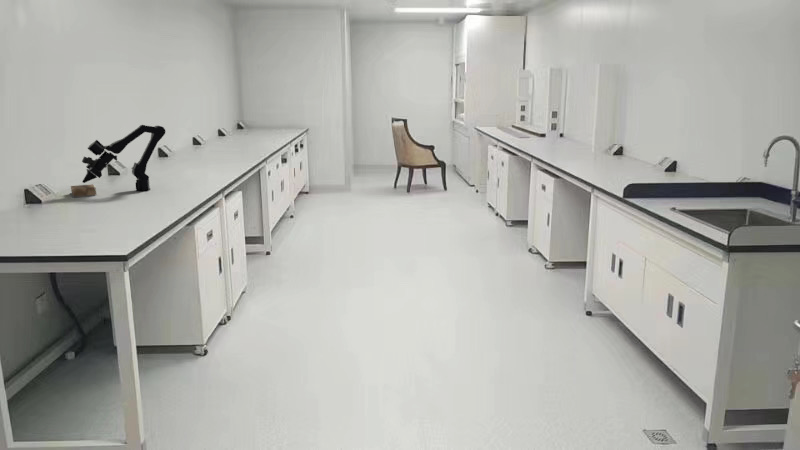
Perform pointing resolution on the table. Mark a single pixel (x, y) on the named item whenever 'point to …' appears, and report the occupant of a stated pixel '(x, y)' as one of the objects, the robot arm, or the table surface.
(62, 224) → the table surface
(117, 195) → the table surface
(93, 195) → the mat
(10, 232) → the table surface
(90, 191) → the walnut block
